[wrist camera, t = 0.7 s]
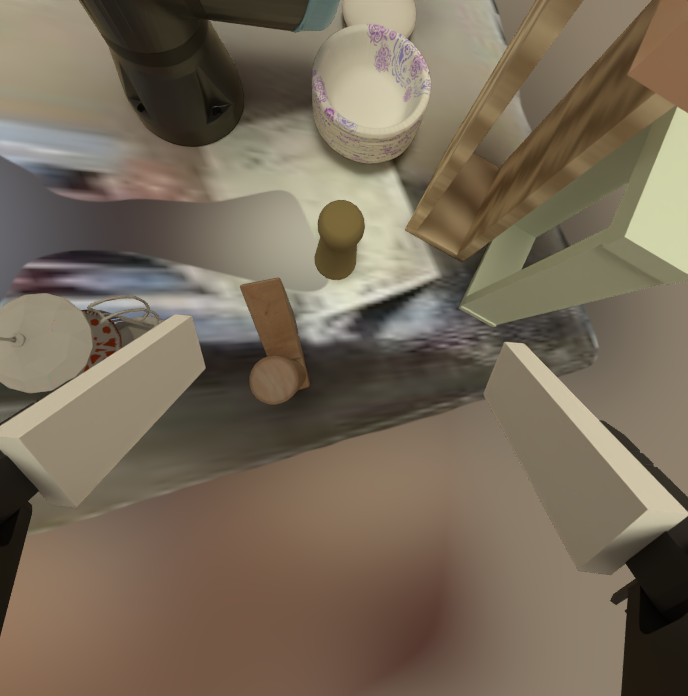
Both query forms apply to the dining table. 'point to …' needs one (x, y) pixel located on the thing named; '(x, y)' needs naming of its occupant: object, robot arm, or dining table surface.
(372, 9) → the flower in vase
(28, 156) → the dining table surface
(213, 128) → the robot arm
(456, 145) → the birch stand
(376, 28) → the paper bowls
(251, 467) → the dining table surface
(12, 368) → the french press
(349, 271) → the cork
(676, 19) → the salmon orange bar
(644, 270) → the pale green rectangular frame
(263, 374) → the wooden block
